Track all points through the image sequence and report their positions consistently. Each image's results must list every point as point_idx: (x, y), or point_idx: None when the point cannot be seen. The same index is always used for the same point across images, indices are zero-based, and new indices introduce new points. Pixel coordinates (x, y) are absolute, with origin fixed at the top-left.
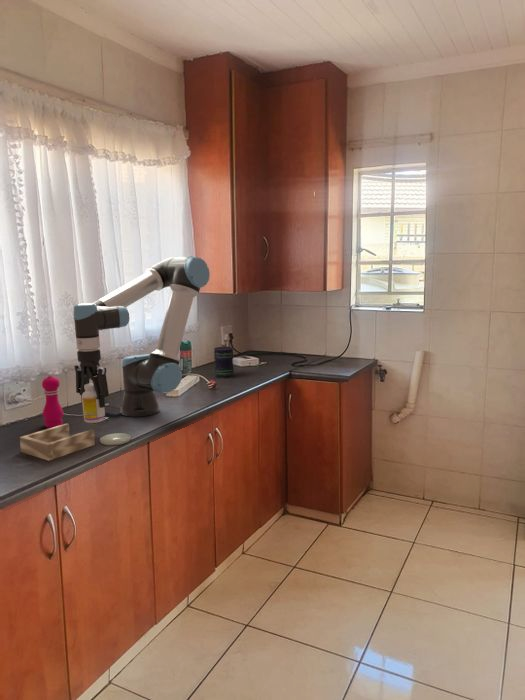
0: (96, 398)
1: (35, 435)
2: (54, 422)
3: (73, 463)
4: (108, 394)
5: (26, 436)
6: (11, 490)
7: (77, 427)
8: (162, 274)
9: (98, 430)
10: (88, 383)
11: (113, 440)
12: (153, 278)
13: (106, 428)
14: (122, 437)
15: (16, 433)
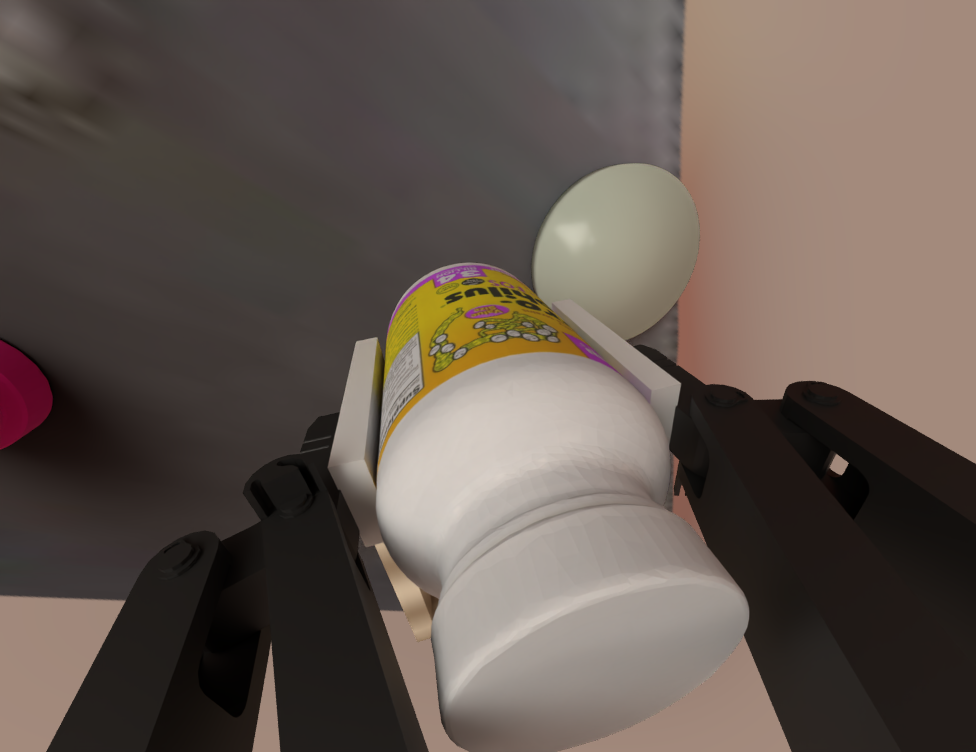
0: (680, 486)
1: (423, 594)
2: (14, 414)
3: None
4: (845, 397)
5: (430, 626)
6: None
7: (150, 284)
8: None
9: (343, 215)
10: (452, 715)
11: (642, 297)
12: None
13: (334, 137)
14: (651, 231)
15: (81, 564)
